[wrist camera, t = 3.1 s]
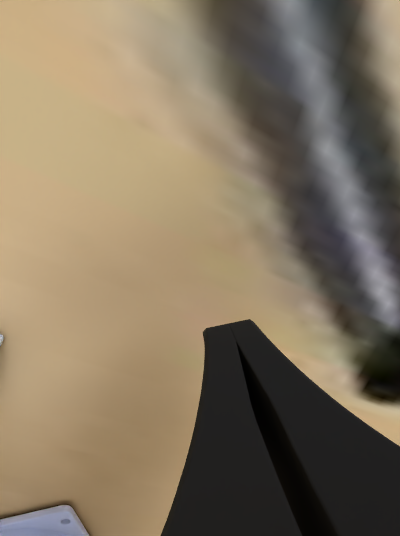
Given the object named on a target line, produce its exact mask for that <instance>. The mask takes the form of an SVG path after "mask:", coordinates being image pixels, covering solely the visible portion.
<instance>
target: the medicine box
mask: <svg viewBox="0 0 400 536" xmlns="http://www.w3.org/2000/svg"><path fill="white" fill-rule="evenodd" d="M3 339H4V336H3V335H1V334H0V346H1V344H2V342H3Z"/></svg>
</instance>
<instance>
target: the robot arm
mask: <svg viewBox="0 0 400 536" xmlns="http://www.w3.org/2000/svg"><path fill="white" fill-rule="evenodd" d="M203 336H204V343H205V360H204V372H203V381H202V390H201V396H200V401H199V407H198V412H197V417H196V422H195V427H194V431H193V435H192V440H191V444H190V447H189V451H188V455H187V459H186V462H185V466H184V469H183V472H182V475H181V479H180V482H179V485H178V488H177V491H176V495H175V498H174V501H173V504H172V507H171V510H170V512H169V515H168V518H167V521H166V523H165V526H164V529H163V531H162V534H161V536H400V446H398V445H397V444H395V443H394V442H392V441H391V440H389V439H388V438H386V437H385V436H383V435H382V434H380V433H379V432H377V431H376V430H375V429H373V428H372V427H370V426H369V425H367V424H366V423H365V422H363V421H362V420H360V419H359V418H358V417H356V416H355V415H354V414H352V413H351V412H350V411H348V410H347V409H346V408H344V407H343V406H342V405H340V404H339V403H338V402H337V401H335V400H334V399H333V398H332V397H330V396H329V395H328V394H327V393H326V392H324V391H323V390H322V389H321V388H320V387H318V386H317V385H316V384H315V383H314V382H313V381H312V380H310V379H309V378H308V377H307V376H306V375H305V374H304V373H303V372H301V371H300V370H299V369H298V368H297V367H296V366H295V365H294V364H293V363H292V362H291V361H290V360H289V359H288V358H287V357H286V356H285V355H284V354H283V353H282V352H281V351H280V350H279V349H278V348H277V347H276V346H275V345H274V344H273V343H272V342H271V341H270V340H269V339H268V338H267V337H266V336H265V335H264V333H263V332H262V331H261V330H260V329H259V328H258V327H257V325H256V324H255V323H254V322H253V321H252V320H250V319H248V320H244V321H239V322H234V323H229V324H224V325H220V326H215V327H210V328H206V329H205V330H204V332H203ZM0 536H89V534H88V533H87V531H86V529H85V528H84V526H83V524H82V523H81V521H80V520H79V518H78V516H77V515H76V513H75V511H74V510H73V508H72V507H71V506H69V505H60V506H56V507H52V508H47V509H43V510H39V511H34V512H30V513H26V514H22V515H17V516H13V517H9V518H4V519H0Z"/></svg>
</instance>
